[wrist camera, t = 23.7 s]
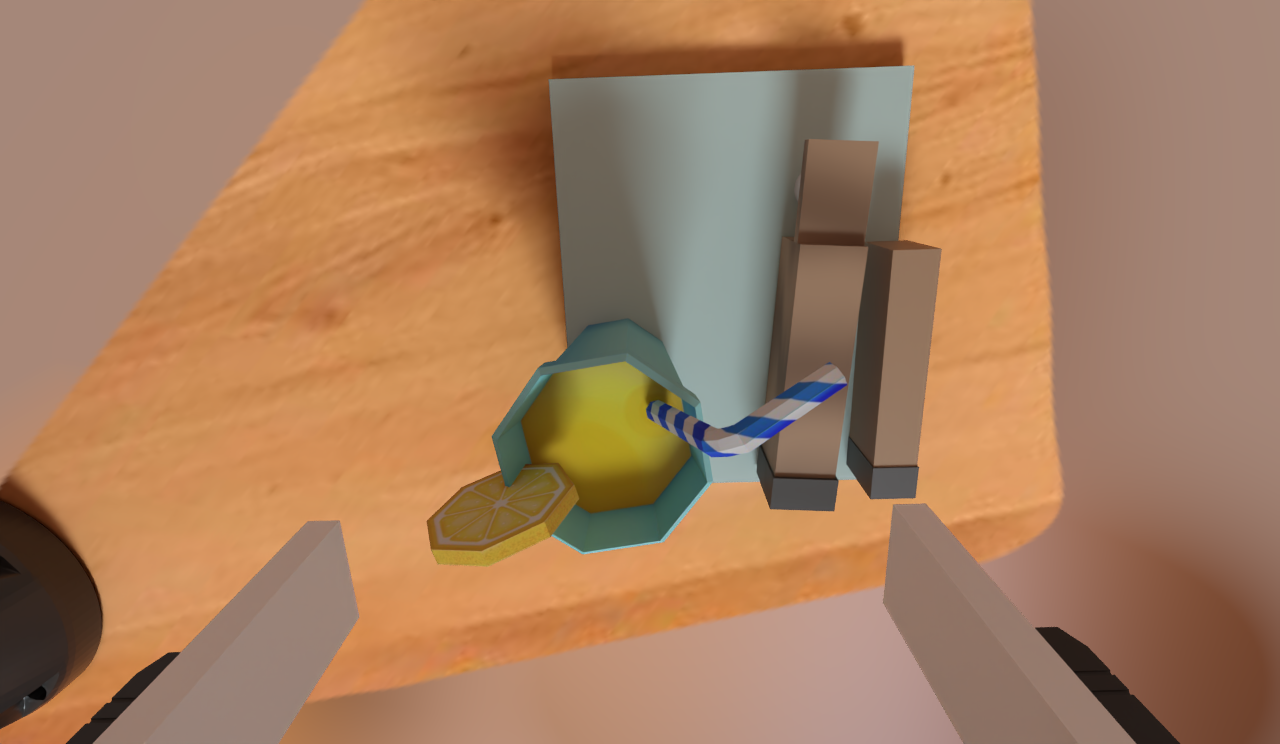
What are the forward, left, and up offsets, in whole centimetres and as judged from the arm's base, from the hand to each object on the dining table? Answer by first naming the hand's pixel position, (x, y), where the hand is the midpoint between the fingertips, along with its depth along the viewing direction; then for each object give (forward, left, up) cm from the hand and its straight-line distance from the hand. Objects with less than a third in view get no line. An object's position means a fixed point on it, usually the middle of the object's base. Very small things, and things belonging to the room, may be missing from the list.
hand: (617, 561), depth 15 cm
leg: (+8, +2, -17) cm, 19 cm away
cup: (0, 0, -17) cm, 17 cm away
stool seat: (+5, +3, -18) cm, 19 cm away
